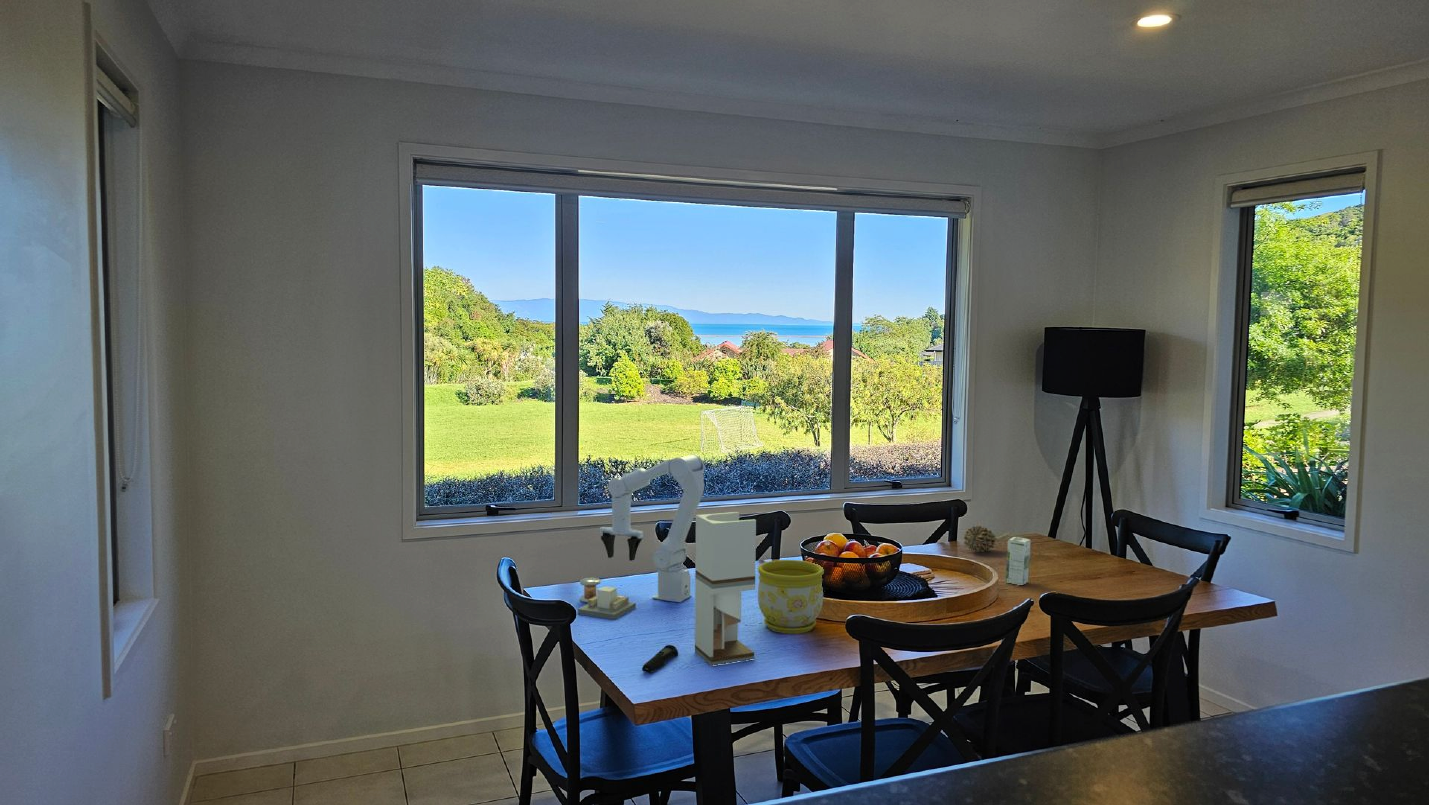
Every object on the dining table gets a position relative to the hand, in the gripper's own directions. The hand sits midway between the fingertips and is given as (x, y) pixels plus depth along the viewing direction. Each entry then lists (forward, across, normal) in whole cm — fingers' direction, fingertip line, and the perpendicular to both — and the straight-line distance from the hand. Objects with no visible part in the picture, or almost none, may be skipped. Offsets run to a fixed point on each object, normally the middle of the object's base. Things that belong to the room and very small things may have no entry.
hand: (621, 558), depth 285 cm
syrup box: (+10, +112, +61) cm, 128 cm away
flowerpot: (+10, +60, -12) cm, 62 cm away
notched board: (+9, +8, -22) cm, 25 cm away
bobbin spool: (+9, -2, -15) cm, 18 cm away
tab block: (+8, +8, -22) cm, 25 cm away
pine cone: (+10, +97, +102) cm, 141 cm away
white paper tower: (+10, +53, -41) cm, 68 cm away
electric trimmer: (+10, +41, -52) cm, 67 cm away
